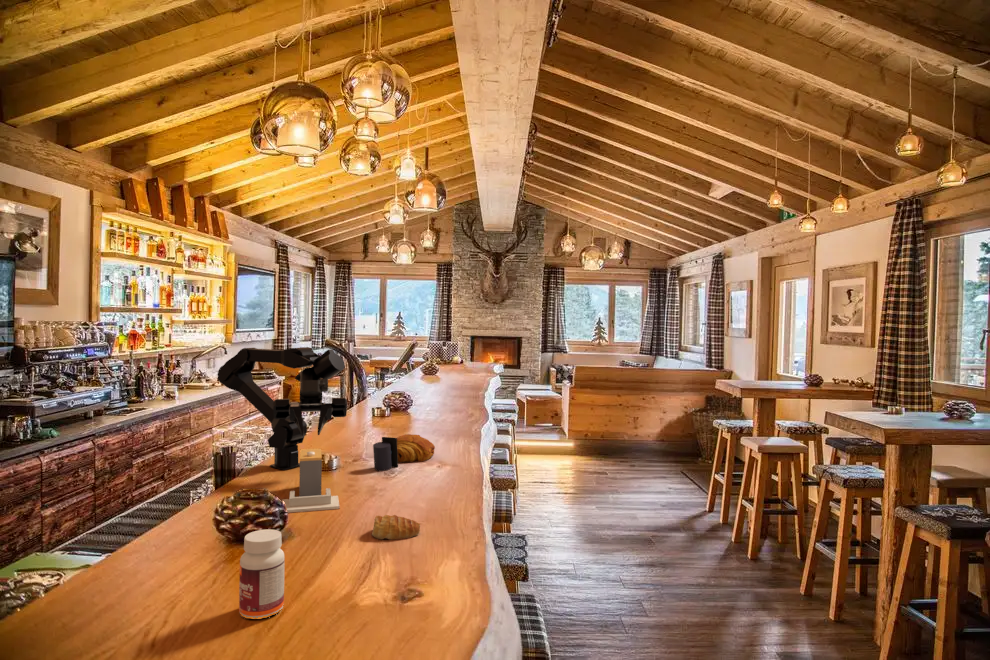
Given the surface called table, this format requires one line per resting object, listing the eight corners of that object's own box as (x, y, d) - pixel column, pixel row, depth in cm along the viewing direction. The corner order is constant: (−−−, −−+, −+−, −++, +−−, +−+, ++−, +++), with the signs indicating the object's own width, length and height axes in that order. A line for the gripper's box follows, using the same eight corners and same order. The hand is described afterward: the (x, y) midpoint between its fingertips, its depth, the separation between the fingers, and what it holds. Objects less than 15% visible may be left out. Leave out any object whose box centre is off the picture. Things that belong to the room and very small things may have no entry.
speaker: (386, 463, 173) (385, 434, 172) (398, 467, 171) (398, 437, 169) (370, 470, 168) (369, 440, 167) (382, 474, 165) (382, 443, 164)
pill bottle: (231, 611, 87) (232, 535, 87) (270, 596, 92) (271, 524, 91) (252, 626, 83) (253, 546, 83) (292, 610, 88) (292, 534, 87)
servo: (299, 487, 150) (300, 446, 149) (320, 485, 151) (321, 445, 151) (299, 498, 140) (299, 455, 140) (321, 497, 142) (321, 454, 141)
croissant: (379, 467, 178) (377, 442, 177) (402, 449, 193) (400, 426, 191) (423, 471, 174) (421, 445, 172) (443, 452, 188) (441, 428, 187)
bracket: (281, 502, 137) (281, 491, 137) (337, 498, 141) (337, 487, 141) (280, 513, 130) (280, 502, 130) (339, 508, 133) (339, 497, 133)
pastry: (420, 528, 123) (420, 510, 123) (419, 541, 116) (419, 522, 116) (374, 529, 122) (374, 510, 122) (370, 542, 115) (371, 522, 115)
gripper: (274, 368, 155) (271, 417, 144) (347, 368, 160) (349, 415, 150) (275, 394, 162) (272, 442, 152) (345, 393, 168) (347, 439, 158)
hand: (310, 434), depth 153 cm, fingers open, 4 cm apart
